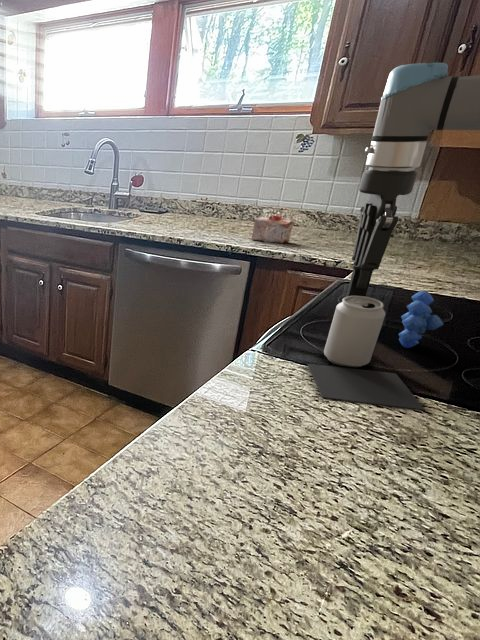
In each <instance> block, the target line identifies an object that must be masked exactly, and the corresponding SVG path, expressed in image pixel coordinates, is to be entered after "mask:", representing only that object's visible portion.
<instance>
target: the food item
mask: <svg viewBox="0 0 480 640" xmlns="http://www.w3.org/2000/svg"><path fill="white" fill-rule="evenodd" d="M253 222H254V223H253V228H252V233H251V240H252V241H260V242H264V243H277V244H286V243H288V242H290V241H291V234H292V230H293V227H294V225H295V221H293V220H287V219H283V217H282V216H279V215H274V214H273V215H271V216H269V217H258V218H255V219H254V221H253Z"/></svg>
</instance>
